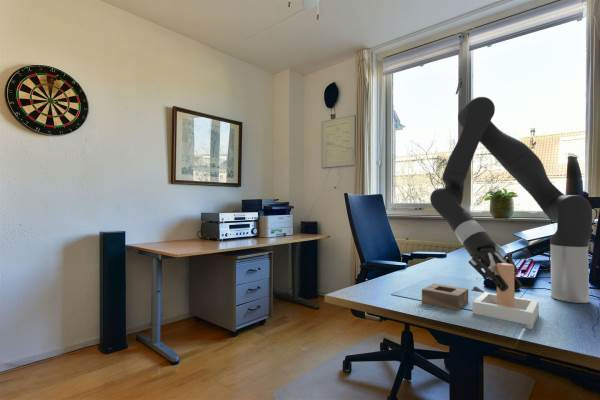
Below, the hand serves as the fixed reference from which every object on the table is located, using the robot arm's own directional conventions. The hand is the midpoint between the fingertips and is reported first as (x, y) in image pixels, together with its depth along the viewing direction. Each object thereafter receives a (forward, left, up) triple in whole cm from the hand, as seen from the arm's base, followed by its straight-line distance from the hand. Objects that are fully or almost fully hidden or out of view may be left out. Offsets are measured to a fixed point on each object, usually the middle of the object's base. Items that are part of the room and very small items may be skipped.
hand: (512, 288), depth 83 cm
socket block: (+1, -17, -8) cm, 18 cm away
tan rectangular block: (-1, -2, -6) cm, 6 cm away
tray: (-1, -2, -8) cm, 8 cm away
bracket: (-17, -17, -9) cm, 25 cm away
